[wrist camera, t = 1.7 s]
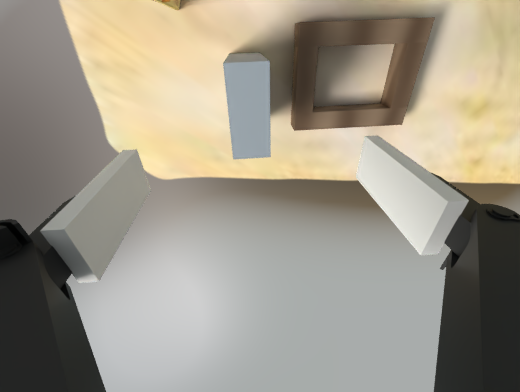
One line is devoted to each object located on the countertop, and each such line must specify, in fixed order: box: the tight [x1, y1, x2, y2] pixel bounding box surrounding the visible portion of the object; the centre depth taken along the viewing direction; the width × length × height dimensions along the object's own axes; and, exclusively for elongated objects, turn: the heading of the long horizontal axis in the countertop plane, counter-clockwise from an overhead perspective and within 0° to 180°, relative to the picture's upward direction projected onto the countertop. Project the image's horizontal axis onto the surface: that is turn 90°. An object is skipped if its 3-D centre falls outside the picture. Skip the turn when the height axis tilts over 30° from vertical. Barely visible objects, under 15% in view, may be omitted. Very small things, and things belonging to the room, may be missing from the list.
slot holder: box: [291, 17, 435, 130], centre depth 33 cm, size 16×13×3 cm
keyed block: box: [223, 52, 271, 159], centre depth 28 cm, size 4×9×14 cm, turn 2°
